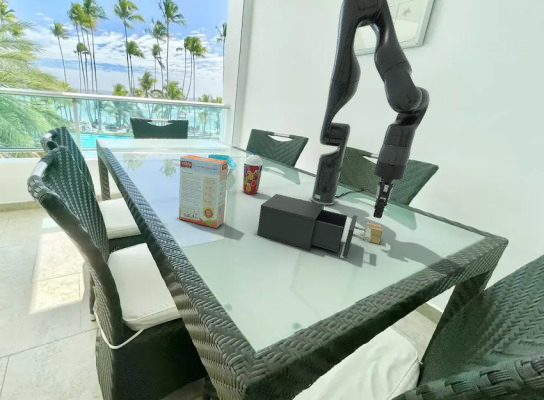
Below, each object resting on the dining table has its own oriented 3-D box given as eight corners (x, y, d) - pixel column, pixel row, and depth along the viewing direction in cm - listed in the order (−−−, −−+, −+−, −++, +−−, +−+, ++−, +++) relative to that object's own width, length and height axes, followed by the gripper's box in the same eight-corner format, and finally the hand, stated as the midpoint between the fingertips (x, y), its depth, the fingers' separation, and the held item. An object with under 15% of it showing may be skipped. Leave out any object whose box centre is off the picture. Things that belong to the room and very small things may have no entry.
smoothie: (263, 193, 124) (268, 149, 117) (251, 196, 118) (257, 150, 111) (248, 188, 129) (253, 146, 122) (237, 191, 123) (241, 147, 116)
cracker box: (224, 222, 90) (229, 160, 83) (216, 229, 85) (220, 163, 78) (187, 213, 95) (190, 153, 88) (178, 219, 90) (179, 156, 83)
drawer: (366, 243, 81) (373, 219, 78) (364, 262, 70) (372, 235, 68) (303, 226, 89) (307, 204, 87) (293, 241, 79) (297, 216, 76)
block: (363, 234, 89) (366, 222, 88) (378, 238, 87) (382, 225, 86) (362, 239, 86) (366, 226, 84) (378, 244, 84) (382, 230, 82)
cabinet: (318, 232, 88) (324, 204, 85) (309, 250, 76) (315, 218, 73) (272, 220, 95) (276, 193, 92) (257, 234, 83) (260, 204, 80)
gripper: (378, 156, 86) (365, 204, 91) (377, 162, 74) (362, 217, 79) (405, 160, 82) (390, 209, 88) (409, 166, 70) (391, 224, 76)
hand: (377, 213), depth 83 cm, fingers open, 8 cm apart
